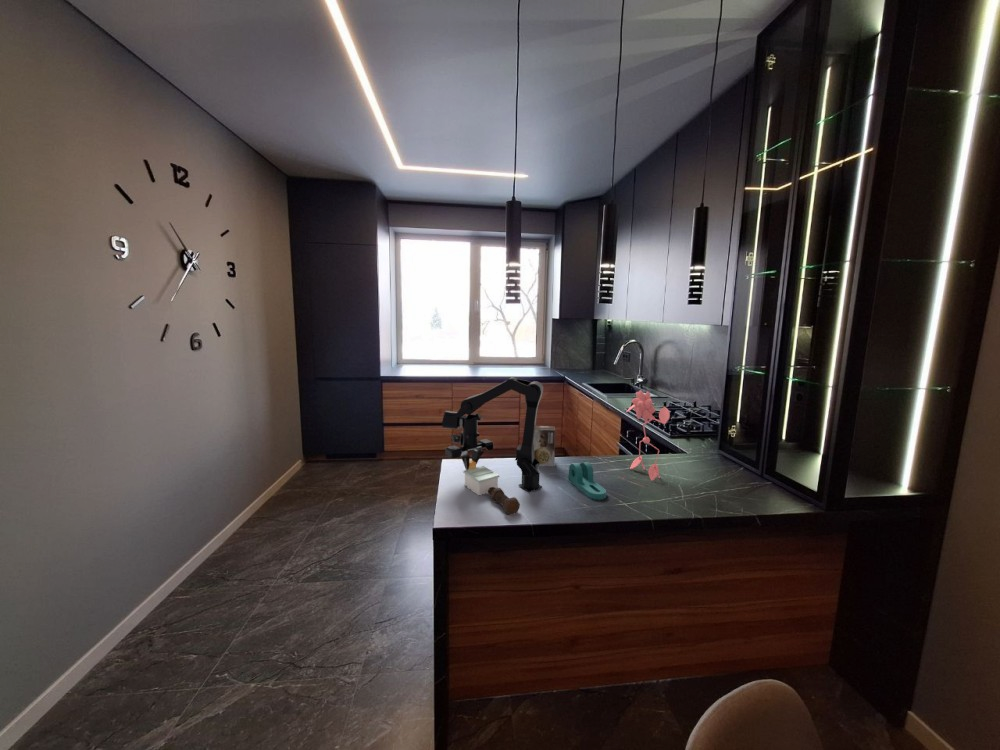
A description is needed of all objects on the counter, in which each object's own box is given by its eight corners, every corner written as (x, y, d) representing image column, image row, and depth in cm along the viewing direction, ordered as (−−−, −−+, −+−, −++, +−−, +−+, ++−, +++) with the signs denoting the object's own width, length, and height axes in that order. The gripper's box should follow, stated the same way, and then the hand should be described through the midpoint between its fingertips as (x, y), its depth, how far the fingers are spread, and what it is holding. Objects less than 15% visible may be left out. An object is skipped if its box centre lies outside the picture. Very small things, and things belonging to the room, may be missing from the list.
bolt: (493, 500, 139) (515, 517, 126) (482, 496, 137) (503, 513, 124) (500, 485, 140) (522, 500, 127) (489, 480, 138) (511, 496, 125)
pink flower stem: (634, 462, 172) (637, 383, 166) (676, 486, 147) (682, 395, 142) (603, 466, 167) (606, 386, 162) (641, 492, 143) (646, 399, 137)
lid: (499, 477, 142) (499, 469, 142) (478, 482, 137) (478, 474, 137) (477, 464, 154) (477, 457, 154) (458, 469, 149) (458, 461, 149)
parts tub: (497, 490, 143) (497, 477, 142) (479, 495, 139) (479, 482, 138) (482, 480, 151) (482, 468, 150) (464, 485, 147) (464, 472, 146)
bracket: (568, 480, 153) (569, 461, 151) (583, 478, 155) (584, 459, 153) (592, 501, 136) (593, 479, 134) (609, 498, 138) (610, 477, 136)
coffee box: (554, 461, 172) (555, 425, 170) (554, 466, 166) (555, 430, 163) (533, 460, 173) (534, 425, 171) (533, 465, 167) (533, 429, 164)
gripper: (479, 421, 160) (479, 458, 162) (438, 429, 149) (438, 468, 152) (494, 428, 151) (494, 466, 153) (452, 436, 140) (452, 477, 143)
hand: (470, 469), depth 150 cm, fingers closed on lid, 2 cm apart
